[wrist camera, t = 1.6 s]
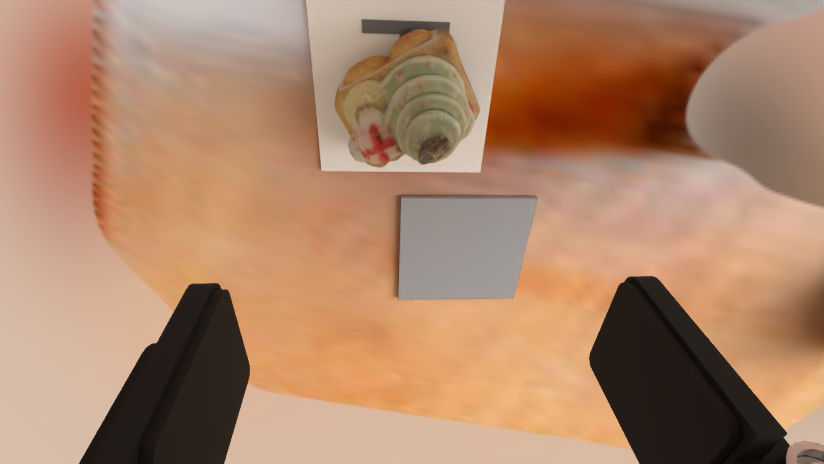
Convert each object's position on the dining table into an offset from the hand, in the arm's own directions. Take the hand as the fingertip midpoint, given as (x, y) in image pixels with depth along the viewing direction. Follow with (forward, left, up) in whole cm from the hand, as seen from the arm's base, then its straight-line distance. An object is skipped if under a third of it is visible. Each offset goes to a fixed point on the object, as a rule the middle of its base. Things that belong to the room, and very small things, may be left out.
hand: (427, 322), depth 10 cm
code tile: (0, 0, -19) cm, 19 cm away
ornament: (0, 0, -19) cm, 19 cm away
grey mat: (-5, +12, -19) cm, 24 cm away
